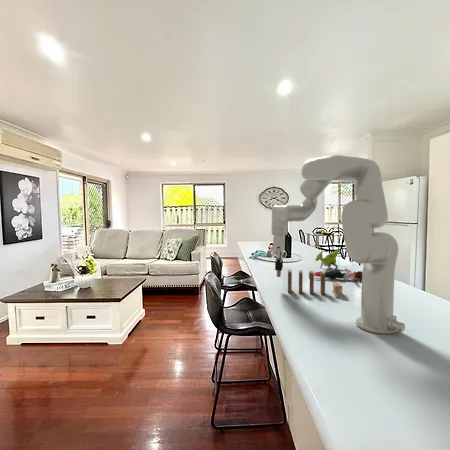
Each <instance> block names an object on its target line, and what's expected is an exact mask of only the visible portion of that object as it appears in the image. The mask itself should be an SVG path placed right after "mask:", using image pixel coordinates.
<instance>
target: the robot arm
mask: <svg viewBox="0 0 450 450" xmlns="http://www.w3.org/2000/svg"><path fill="white" fill-rule="evenodd" d="M301 175H302V178H303V179H304V180H303V182H302V183H301V184H300V187H299V191H300V193H301V194H302V195H303V197H304V198H305V199H304V200H303V202H302V203H301V204H285V205H273V206H272V208H271V235H273V239H272V256H275V262H274V263H275V264H274V265H275V266H274V267H275V268H274V270H275V271H277V270H279V271H281V272H282V270H283V267H284V264H283V262H284V259H283V257H284V256H283V255H284V253H285V248H286V247H285V244H286V242H285V241H286V236H287V235H288V231H289V230H288V228H289V227H288V223H291V222H304V221H305V220H307V219H308V218H309V217H310V216H311V215H313V213H314V212H315V210H317V209H316V208H317V206H318V198H319V196H320V195H321V194H322V193H323V192H324V190H325V189H326V188H328V186H329V185H330V184H331V183H332V182H333V181H345V182H355V187H354V189H355V190H354V193H355V194H354V195H355V198H356V199H355V200H351V201H349V202H348V203H346V205H344V207H343V208H342V212H341V225H342V231H343V238H344V243H345V244H344V245H345V250H346V253H347V255H348V257H349V258H350V260H352V261H353V262H354V263H356V264H361V265H362V264H363V267H362V271H361V272H362V281H361V298H360V299H361V300H360V301H361V305H360V306H361V309H360V317H358V318H356V319H355V324H356V326H358V327H359V328H360V329H362V330H365V331H367V332H370V333H375V334H380V335H381V334H382V335H392V334H395V333H397V332H403V333H404V331H405V330H406V323H404V322H401V321H398V320H397V316H396V315H394V305H395V303H394V302H395V301H394V300H395V276H396V275H395V274H396V273H395V272H396V265H397V260H398V259H397V258H398V255H399V244H398V242H397V239H396V238H395V237H394V236H393V235H391V234H390V233H387V232H381V231H378V232H377V231H376V232H373V231H372V229H380V228H381V227H383V226H385V225H386V224H387V221H388V219H389V218H388V217H389V216H388V215H389V214H388V208H387V207H388V206H387V202H386V196H385V191H384V189H383V181H382V172H381V169H380V166H379V165H378V163H377V162H375V161H374V160H373V159H369V158H364V157H356V156H350V155H349V156H348V155H340V154H338V155H337V154H333V155H327V156H321V157H313V158H310V159H308V160H306V161H305V163H303V165H302V168H301ZM280 257H281V258H280Z"/></svg>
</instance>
